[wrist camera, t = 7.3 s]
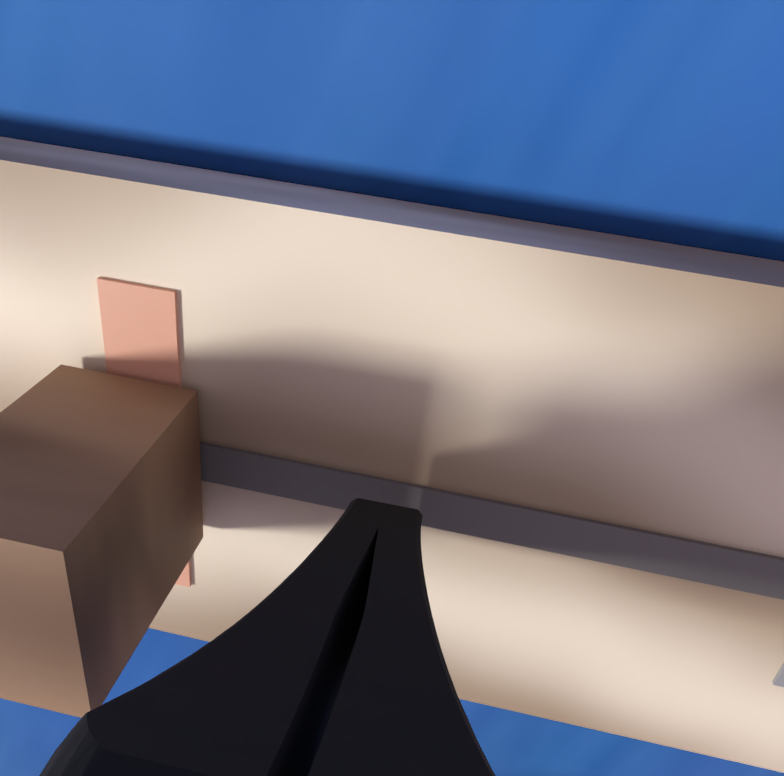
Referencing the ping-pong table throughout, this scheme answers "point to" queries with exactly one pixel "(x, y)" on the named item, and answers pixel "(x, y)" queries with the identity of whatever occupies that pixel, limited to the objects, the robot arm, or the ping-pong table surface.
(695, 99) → the ping-pong table surface
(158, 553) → the fader knob
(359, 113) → the ping-pong table surface
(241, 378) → the fader panel
